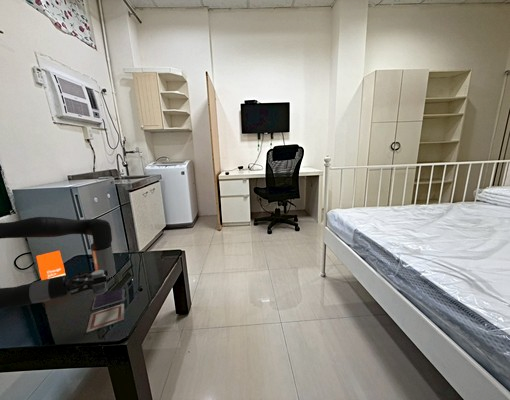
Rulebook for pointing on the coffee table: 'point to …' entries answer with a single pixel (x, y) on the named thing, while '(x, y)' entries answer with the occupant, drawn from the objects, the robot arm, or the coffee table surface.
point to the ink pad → (108, 299)
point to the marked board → (105, 317)
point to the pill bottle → (99, 287)
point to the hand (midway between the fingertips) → (106, 275)
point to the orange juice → (50, 265)
